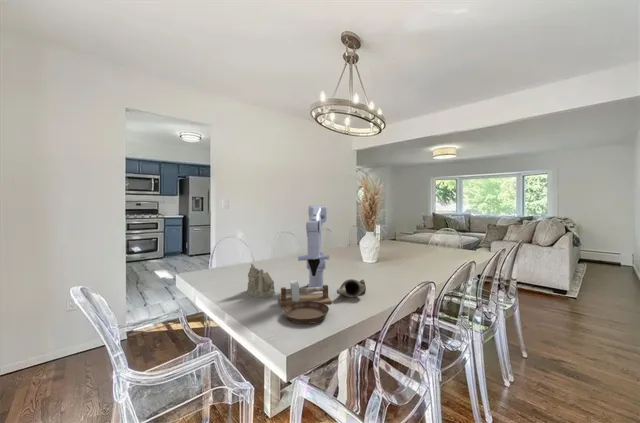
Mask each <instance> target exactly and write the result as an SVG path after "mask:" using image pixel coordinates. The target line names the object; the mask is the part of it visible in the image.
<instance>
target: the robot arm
mask: <svg viewBox="0 0 640 423" xmlns="http://www.w3.org/2000/svg"><path fill="white" fill-rule="evenodd" d="M327 209H328V207H327V205H309V206H308V213H307V214H308V221H307V222H306V224H305V225H306V226H305V230H306V237H307V254H306V255H298V256H297V261H298V262H301V261H306V268H307V270H308V272H309V273H308V281H309V282H308V283H307V286H308V287H307V288H310V287H323V285H324V270H326V268H327V261H328V260H330V254H325V252H323V251H322V235H323V234H322V232H323V231H322V228H323V225H324V223H327V214H328V210H327Z"/></svg>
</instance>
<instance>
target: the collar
mask: <svg viewBox="0 0 640 423" xmlns="http://www.w3.org/2000/svg"><path fill="white" fill-rule="evenodd" d="M299 288H300V283H299V282H298V280H290V289H292V293H290V295H291V299H292V302H293V301H299V295H300V293H299Z"/></svg>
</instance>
